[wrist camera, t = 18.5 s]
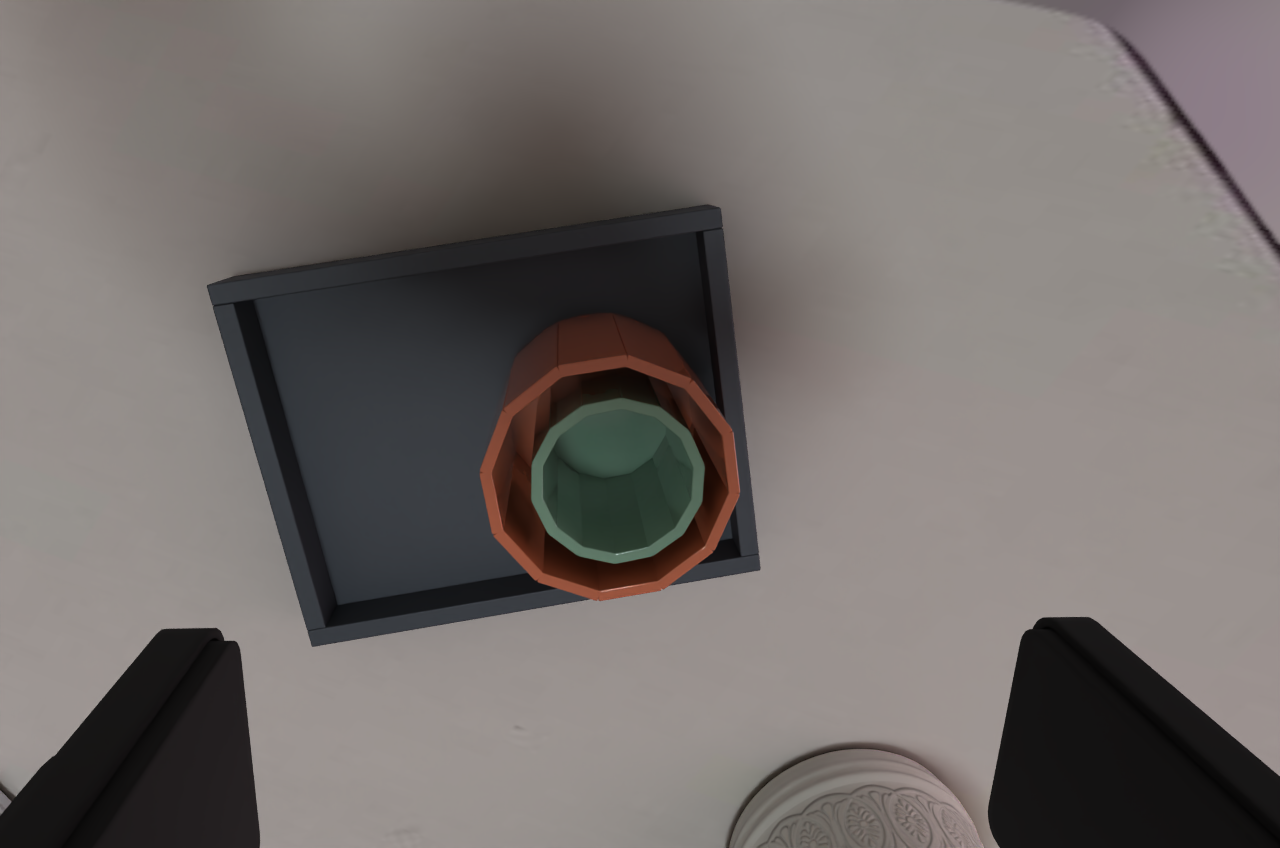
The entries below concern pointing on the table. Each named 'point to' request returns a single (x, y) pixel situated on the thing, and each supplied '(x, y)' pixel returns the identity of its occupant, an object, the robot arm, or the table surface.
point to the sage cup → (614, 465)
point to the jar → (855, 806)
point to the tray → (448, 403)
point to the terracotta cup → (511, 446)
